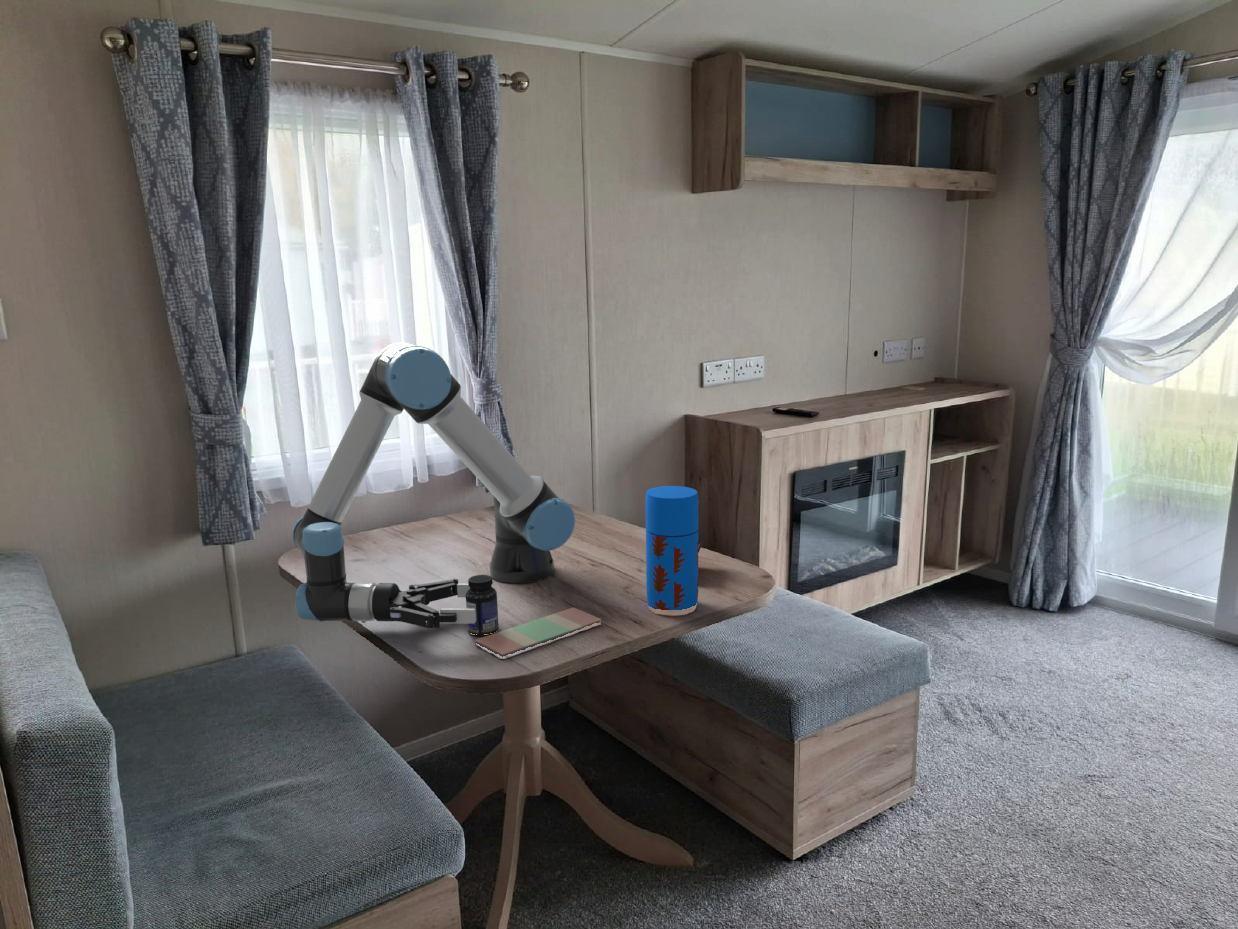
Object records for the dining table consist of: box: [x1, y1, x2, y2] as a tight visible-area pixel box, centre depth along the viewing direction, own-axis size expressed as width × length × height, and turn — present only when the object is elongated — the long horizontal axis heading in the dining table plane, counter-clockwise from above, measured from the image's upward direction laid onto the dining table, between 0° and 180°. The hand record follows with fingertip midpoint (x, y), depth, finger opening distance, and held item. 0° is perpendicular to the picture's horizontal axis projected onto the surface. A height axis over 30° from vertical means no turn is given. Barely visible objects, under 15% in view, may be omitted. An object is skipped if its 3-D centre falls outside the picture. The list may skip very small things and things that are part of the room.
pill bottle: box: [465, 574, 500, 635], centre depth 178 cm, size 6×6×11 cm
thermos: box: [645, 485, 699, 610], centre depth 187 cm, size 11×11×25 cm
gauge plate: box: [474, 606, 602, 657], centre depth 176 cm, size 9×24×1 cm, turn 132°
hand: (482, 602), depth 177 cm, fingers open, 13 cm apart
